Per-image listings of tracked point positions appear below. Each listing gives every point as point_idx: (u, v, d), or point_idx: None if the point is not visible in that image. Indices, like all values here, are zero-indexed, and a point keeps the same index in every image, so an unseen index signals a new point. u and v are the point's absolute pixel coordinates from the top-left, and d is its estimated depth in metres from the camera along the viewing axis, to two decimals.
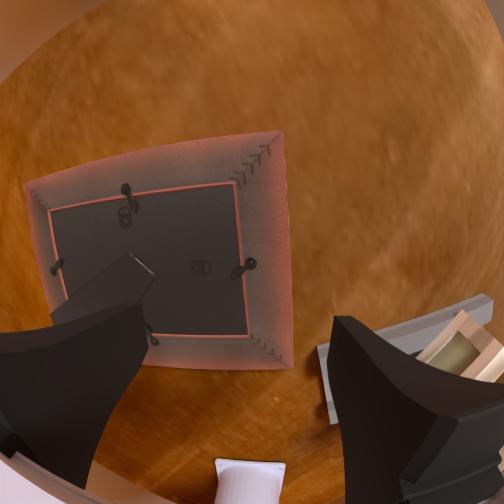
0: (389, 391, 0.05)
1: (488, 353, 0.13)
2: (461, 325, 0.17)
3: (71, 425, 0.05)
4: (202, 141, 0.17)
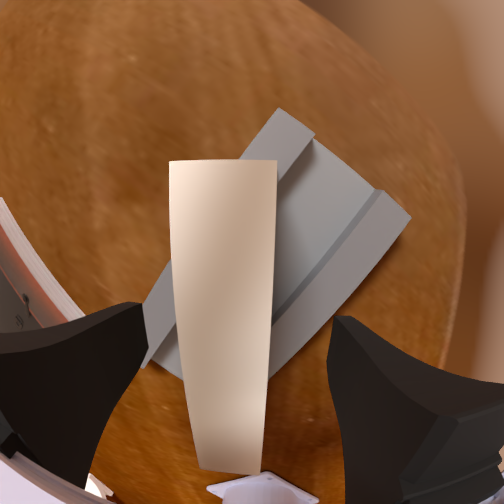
0: (389, 391, 0.05)
1: None
2: None
3: (71, 425, 0.05)
4: None
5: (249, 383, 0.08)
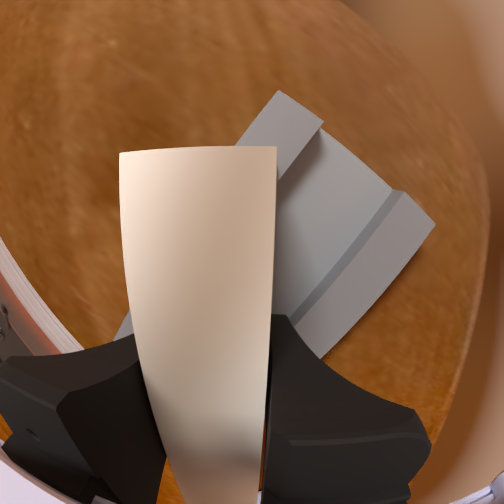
0: None
1: None
2: None
3: (145, 451, 0.05)
4: None
5: (239, 441, 0.06)
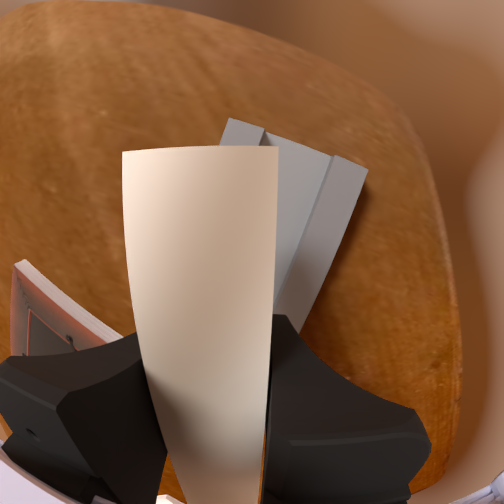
0: (271, 394, 0.05)
1: None
2: None
3: (145, 451, 0.05)
4: (11, 305, 0.20)
5: (241, 437, 0.06)
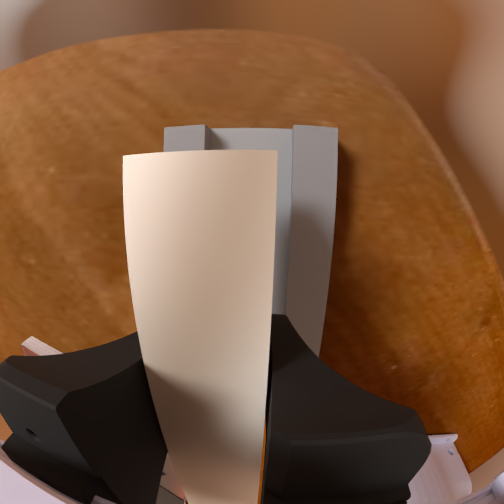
0: (271, 394, 0.05)
1: None
2: None
3: (145, 451, 0.05)
4: None
5: (241, 437, 0.06)
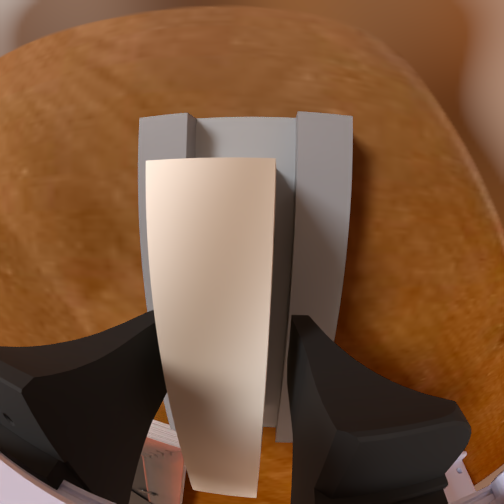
0: (315, 395, 0.05)
1: None
2: None
3: (117, 442, 0.05)
4: None
5: (243, 413, 0.07)
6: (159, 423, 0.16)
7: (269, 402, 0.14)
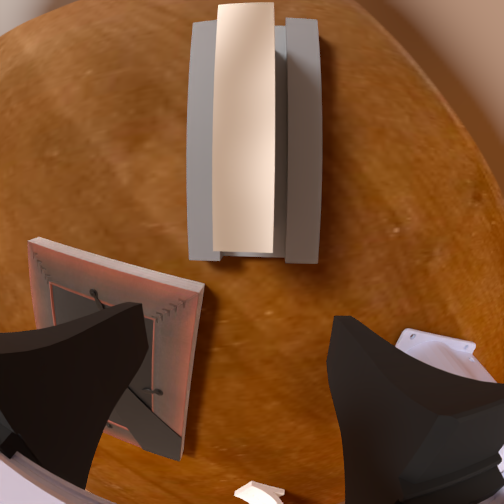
0: (390, 390, 0.05)
1: None
2: None
3: (71, 425, 0.05)
4: (32, 291, 0.20)
5: (262, 118, 0.11)
6: (175, 277, 0.20)
7: (278, 223, 0.18)
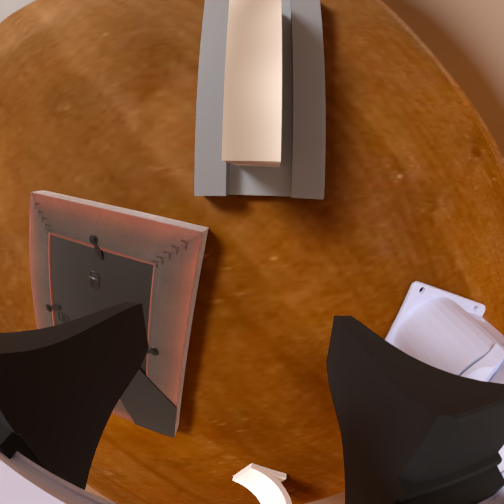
0: (389, 390, 0.05)
1: None
2: None
3: (71, 425, 0.05)
4: (30, 245, 0.20)
5: (270, 45, 0.11)
6: (178, 221, 0.20)
7: (283, 162, 0.18)
